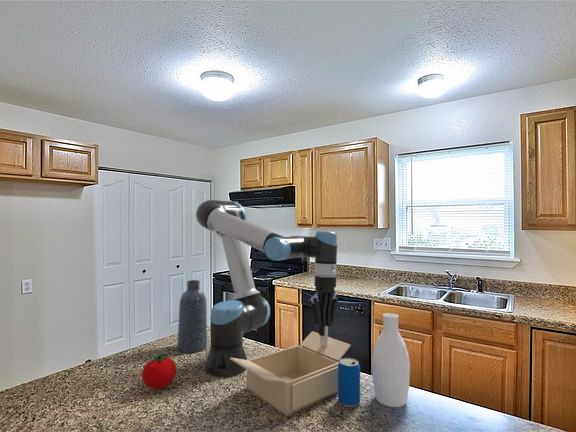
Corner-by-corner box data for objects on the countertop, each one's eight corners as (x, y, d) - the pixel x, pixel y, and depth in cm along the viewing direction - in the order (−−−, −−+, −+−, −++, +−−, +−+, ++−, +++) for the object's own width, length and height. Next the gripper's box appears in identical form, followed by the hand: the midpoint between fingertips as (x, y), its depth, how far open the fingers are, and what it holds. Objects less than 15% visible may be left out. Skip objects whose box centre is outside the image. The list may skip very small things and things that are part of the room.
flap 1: (247, 362, 106) (229, 359, 102) (248, 360, 106) (230, 357, 102) (283, 382, 93) (264, 380, 88) (284, 380, 93) (265, 378, 89)
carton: (245, 388, 108) (245, 359, 108) (296, 369, 122) (296, 344, 122) (288, 418, 91) (289, 384, 91) (342, 392, 105) (342, 363, 106)
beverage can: (360, 409, 96) (360, 367, 96) (337, 407, 97) (337, 365, 97) (360, 398, 102) (360, 358, 102) (338, 396, 103) (338, 356, 104)
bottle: (390, 413, 94) (390, 322, 94) (364, 395, 104) (364, 312, 104) (418, 404, 99) (418, 317, 100) (390, 387, 109) (390, 308, 109)
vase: (203, 353, 137) (204, 283, 138) (173, 353, 137) (174, 283, 137) (209, 342, 149) (210, 278, 150) (182, 342, 149) (183, 278, 150)
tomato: (182, 386, 108) (182, 355, 109) (150, 398, 101) (151, 365, 101) (166, 376, 115) (167, 347, 116) (135, 387, 108) (136, 355, 108)
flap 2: (338, 361, 107) (350, 345, 111) (338, 360, 107) (350, 344, 111) (300, 345, 121) (312, 332, 125) (300, 344, 121) (312, 331, 125)
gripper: (320, 278, 110) (318, 351, 108) (345, 276, 118) (344, 344, 116) (304, 275, 115) (302, 345, 114) (330, 273, 124) (328, 338, 122)
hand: (323, 344), depth 115 cm, fingers closed
